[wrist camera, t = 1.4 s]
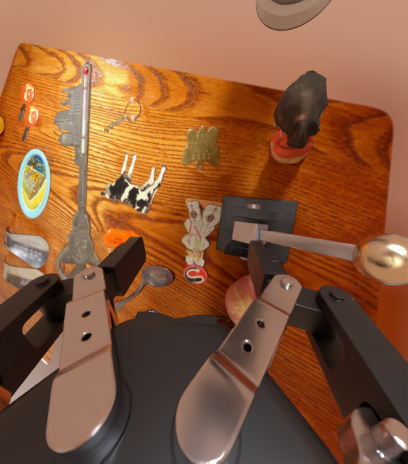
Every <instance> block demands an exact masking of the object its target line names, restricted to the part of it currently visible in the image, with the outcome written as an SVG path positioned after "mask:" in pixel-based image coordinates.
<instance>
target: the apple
mask: <svg viewBox="0 0 408 464" xmlns="http://www.w3.org/2000/svg"><path fill="white" fill-rule="evenodd" d="M255 297H256V294H255V291H254V287H253V284H252V280H251V276H250V275H246V276H244V277H242V278H240V279H239V280H237V281H235V282H234V283H233V284H232V285H231V286H230V287H229V288H228V290H227V293H226V297H225V305H226V309H227V312H228V315H229V317H230V318H231V320H232V321H233V323H234V324H235V325H236V323H237V322H238V321H239V319H240V318H241V316H242V315H243V314H244V312H245V311H246V309H247V308H248V306H249V305H250V304H251V302H252V301H253V299H254V298H255Z"/></svg>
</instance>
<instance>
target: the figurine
mask: <svg viewBox="0 0 408 464" xmlns="http://www.w3.org/2000/svg"><path fill="white" fill-rule="evenodd" d="M327 105H328V100H327V92H326V78H325V77H324V76H322V75H320V74H318V73H316V72H315V71H308V72H306V74H303V75H302V76H300V77H299V78H298V80H297V81H295V82H294V83H292V84H291V85H290V86H289V87H288V88H287V90H286V91H285V92H284V93H283V95H282V96H281V98H280V100H279V102H278V104H277V106H276V109H275V113H274V119H275V121H274V124H273V126H274V127H276V128H277V127H280V130H279V131H277V132H276V134H275V135H274V136H273V138H272V142H271V147H270V152H271V155H272V156H273V158H274V160H275V161H276V162H279V163H284V164H285V163H288V164H292V163H299V162H300V161H301V160H302V159H303V158H304V157H305V156H306V155H307V152H308V151H309V150H310V149H311V147H312V144H313V140H314V139H315V136H316V135H317V133H318V131H319V130H320V128H319V126H320V123H321V122H320V121H319V118H320V117H322V116H323V114H324V110H325V108H326V107H327Z"/></svg>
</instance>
